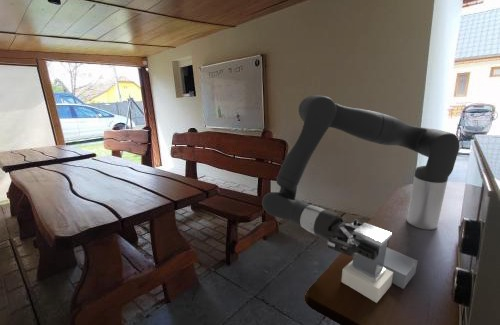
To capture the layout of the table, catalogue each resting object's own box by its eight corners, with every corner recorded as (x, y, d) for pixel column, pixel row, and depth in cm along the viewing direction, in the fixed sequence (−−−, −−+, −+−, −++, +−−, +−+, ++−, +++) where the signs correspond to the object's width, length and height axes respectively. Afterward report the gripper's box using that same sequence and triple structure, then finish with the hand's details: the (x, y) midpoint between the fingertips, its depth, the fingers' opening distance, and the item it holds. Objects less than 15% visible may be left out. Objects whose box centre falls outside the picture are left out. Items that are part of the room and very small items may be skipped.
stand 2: (380, 257, 76) (382, 245, 74) (415, 273, 69) (417, 260, 68) (367, 270, 71) (369, 257, 70) (403, 288, 64) (406, 275, 63)
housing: (359, 259, 69) (364, 222, 66) (385, 271, 64) (391, 232, 61) (349, 268, 66) (353, 230, 62) (375, 282, 61) (381, 242, 58)
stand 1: (356, 267, 72) (358, 255, 71) (391, 285, 65) (393, 272, 64) (341, 281, 67) (342, 268, 66) (376, 303, 60) (378, 289, 59)
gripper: (305, 219, 67) (369, 249, 55) (335, 202, 76) (396, 224, 64) (304, 244, 70) (365, 278, 58) (333, 224, 79) (392, 250, 66)
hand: (381, 249), depth 61 cm, fingers open, 6 cm apart
